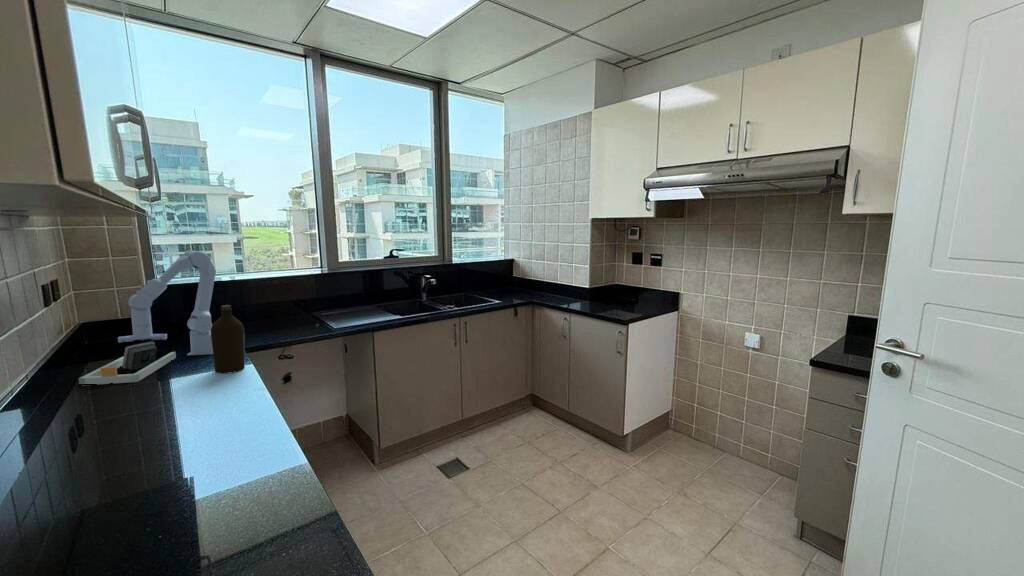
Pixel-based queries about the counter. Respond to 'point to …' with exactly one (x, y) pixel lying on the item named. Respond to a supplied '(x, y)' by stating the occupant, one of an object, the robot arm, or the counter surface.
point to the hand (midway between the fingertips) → (144, 358)
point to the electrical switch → (139, 355)
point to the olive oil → (227, 342)
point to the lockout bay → (109, 374)
